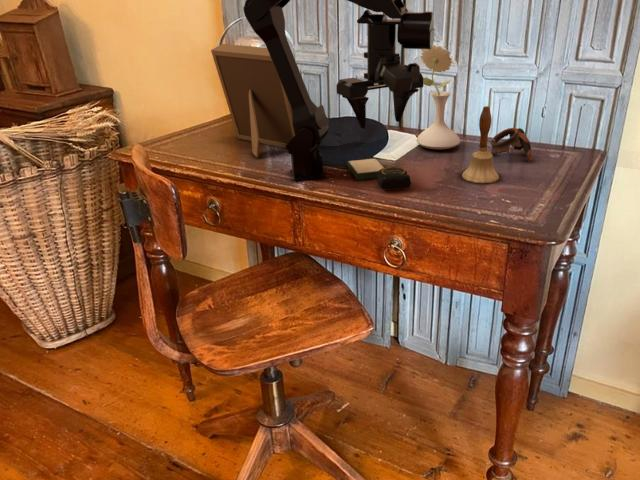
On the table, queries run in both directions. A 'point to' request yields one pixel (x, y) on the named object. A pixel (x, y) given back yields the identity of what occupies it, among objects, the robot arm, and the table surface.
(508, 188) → the table surface
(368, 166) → the tan flat block
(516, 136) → the brown leather strap
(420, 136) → the flower in vase
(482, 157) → the hand bell
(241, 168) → the table surface
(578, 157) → the table surface
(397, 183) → the tape measure
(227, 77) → the photo frame
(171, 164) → the table surface
